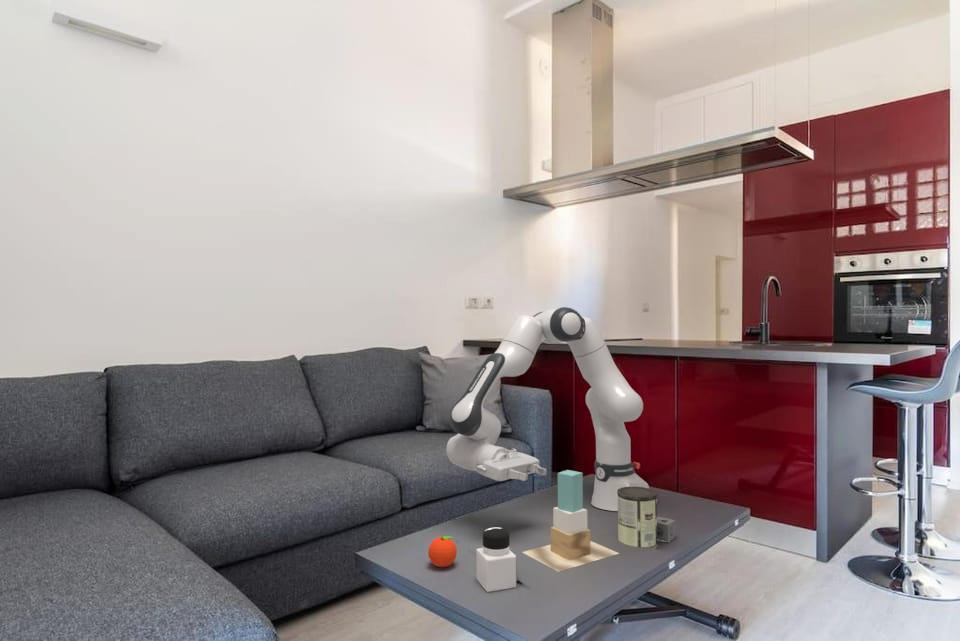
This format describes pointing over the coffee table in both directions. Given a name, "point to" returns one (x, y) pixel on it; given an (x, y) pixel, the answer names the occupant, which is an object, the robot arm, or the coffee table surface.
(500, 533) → the medicine bottle
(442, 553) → the clementine
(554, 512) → the white block
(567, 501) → the teal block
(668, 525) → the dice cube
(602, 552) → the birch board
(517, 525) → the coffee table surface
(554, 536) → the oak block
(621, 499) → the coffee can
